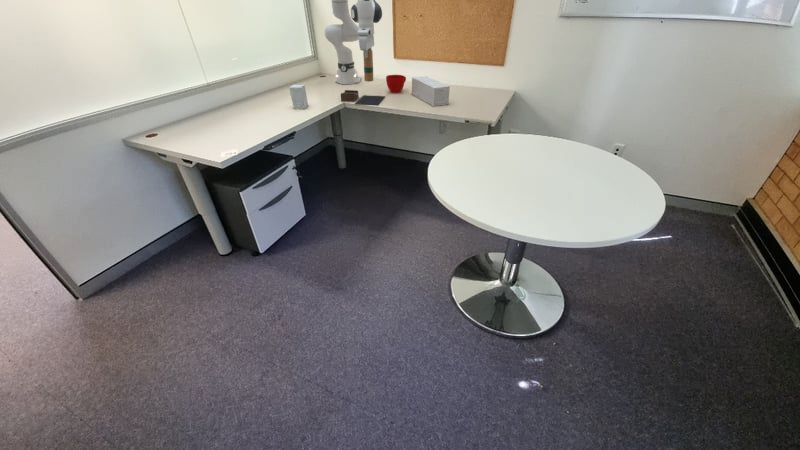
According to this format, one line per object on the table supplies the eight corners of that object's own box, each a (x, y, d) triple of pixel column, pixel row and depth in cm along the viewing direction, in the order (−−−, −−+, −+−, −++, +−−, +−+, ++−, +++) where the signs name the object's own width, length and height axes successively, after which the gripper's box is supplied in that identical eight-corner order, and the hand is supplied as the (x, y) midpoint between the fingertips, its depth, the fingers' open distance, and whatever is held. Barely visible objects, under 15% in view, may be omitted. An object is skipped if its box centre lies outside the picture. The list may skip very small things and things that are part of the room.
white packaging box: (308, 105, 207) (305, 84, 199) (304, 109, 201) (301, 87, 193) (297, 105, 207) (293, 84, 200) (293, 108, 201) (288, 87, 194)
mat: (363, 95, 225) (363, 95, 224) (385, 96, 222) (385, 96, 222) (355, 104, 209) (355, 103, 208) (377, 105, 206) (377, 104, 206)
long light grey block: (411, 94, 228) (412, 77, 221) (425, 92, 231) (426, 76, 225) (433, 106, 204) (434, 88, 197) (448, 104, 207) (449, 86, 201)
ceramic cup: (412, 90, 235) (412, 75, 230) (395, 95, 226) (395, 79, 220) (398, 87, 243) (398, 72, 237) (382, 91, 233) (382, 76, 227)
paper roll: (373, 50, 200) (364, 49, 201) (371, 51, 196) (362, 51, 196) (374, 79, 210) (365, 79, 211) (372, 81, 206) (363, 81, 206)
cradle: (346, 97, 222) (345, 89, 219) (358, 97, 221) (358, 90, 218) (341, 101, 214) (340, 93, 212) (354, 101, 213) (353, 94, 210)
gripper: (366, 28, 201) (367, 53, 209) (356, 32, 185) (358, 59, 193) (376, 28, 200) (377, 54, 208) (367, 32, 184) (368, 59, 192)
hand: (368, 56), depth 200 cm, fingers closed on paper roll, 5 cm apart
